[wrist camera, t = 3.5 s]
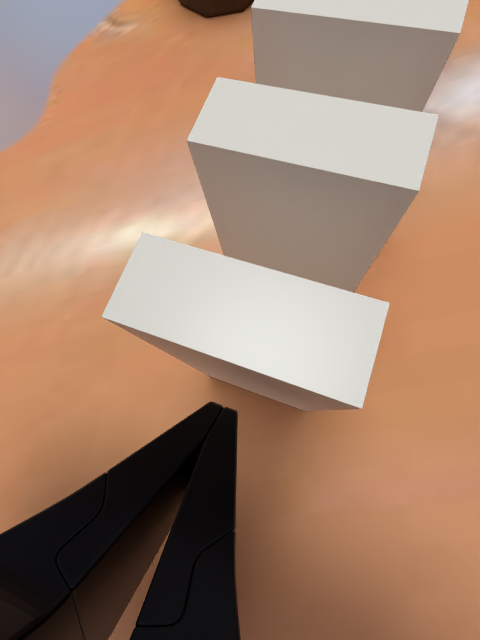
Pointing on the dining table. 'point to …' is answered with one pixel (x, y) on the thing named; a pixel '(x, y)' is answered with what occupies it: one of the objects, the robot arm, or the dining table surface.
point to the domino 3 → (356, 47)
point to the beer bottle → (216, 6)
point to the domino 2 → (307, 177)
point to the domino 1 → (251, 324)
